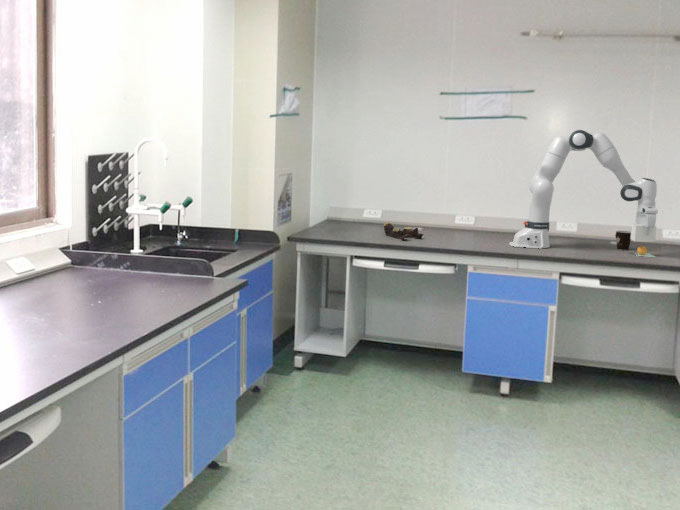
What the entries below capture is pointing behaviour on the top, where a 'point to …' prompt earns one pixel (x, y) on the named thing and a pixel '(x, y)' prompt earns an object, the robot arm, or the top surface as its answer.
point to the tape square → (646, 255)
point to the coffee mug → (623, 239)
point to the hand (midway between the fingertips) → (643, 233)
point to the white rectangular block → (642, 233)
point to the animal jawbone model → (401, 232)
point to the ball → (642, 250)
